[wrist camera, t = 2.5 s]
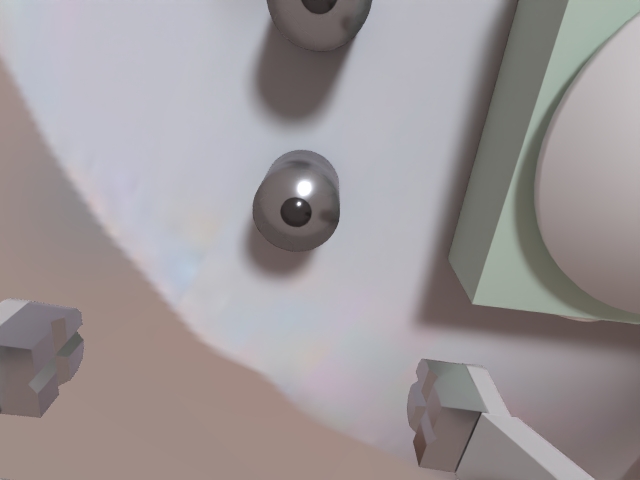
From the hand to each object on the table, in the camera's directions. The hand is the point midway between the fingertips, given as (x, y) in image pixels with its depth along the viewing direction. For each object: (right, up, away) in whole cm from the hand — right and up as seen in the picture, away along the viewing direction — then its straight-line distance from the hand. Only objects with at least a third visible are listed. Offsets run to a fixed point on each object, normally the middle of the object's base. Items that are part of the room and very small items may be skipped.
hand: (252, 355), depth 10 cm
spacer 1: (+2, +16, +14) cm, 22 cm away
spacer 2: (0, +6, +19) cm, 20 cm away
